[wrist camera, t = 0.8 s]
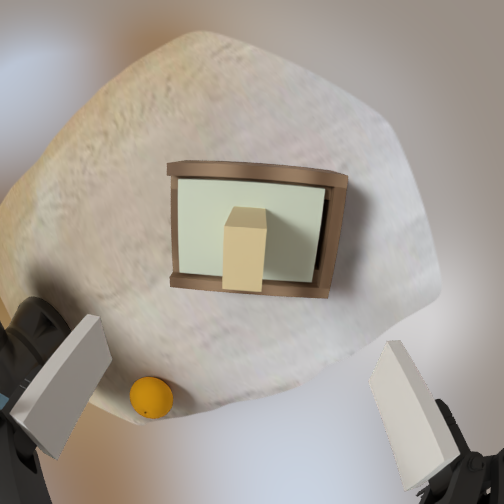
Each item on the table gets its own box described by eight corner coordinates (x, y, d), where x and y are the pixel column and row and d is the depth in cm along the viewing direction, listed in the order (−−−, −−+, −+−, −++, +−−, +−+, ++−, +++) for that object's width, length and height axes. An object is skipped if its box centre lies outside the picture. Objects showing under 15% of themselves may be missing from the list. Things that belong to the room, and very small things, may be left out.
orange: (140, 392, 45) (128, 420, 38) (133, 366, 42) (118, 395, 35) (178, 400, 45) (169, 430, 38) (175, 375, 42) (164, 407, 35)
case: (185, 263, 34) (170, 286, 28) (185, 160, 30) (167, 163, 24) (317, 272, 34) (327, 298, 28) (331, 170, 30) (348, 175, 24)
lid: (181, 269, 29) (158, 307, 22) (180, 178, 25) (150, 189, 18) (310, 278, 29) (324, 320, 22) (323, 187, 25) (347, 203, 18)
